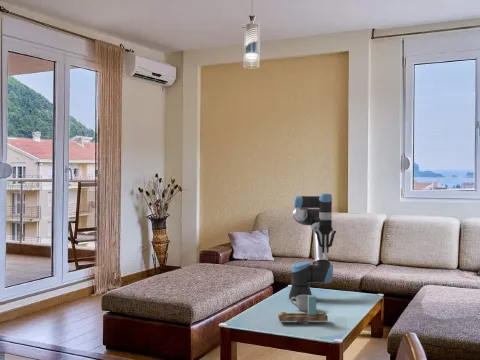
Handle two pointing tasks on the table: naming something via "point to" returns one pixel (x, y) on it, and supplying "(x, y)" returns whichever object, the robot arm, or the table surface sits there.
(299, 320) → the beam
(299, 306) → the teacup
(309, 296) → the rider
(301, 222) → the robot arm
